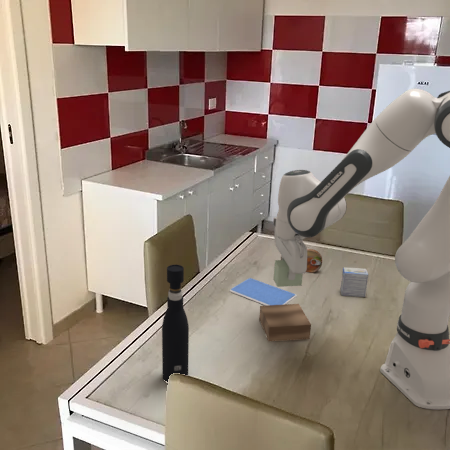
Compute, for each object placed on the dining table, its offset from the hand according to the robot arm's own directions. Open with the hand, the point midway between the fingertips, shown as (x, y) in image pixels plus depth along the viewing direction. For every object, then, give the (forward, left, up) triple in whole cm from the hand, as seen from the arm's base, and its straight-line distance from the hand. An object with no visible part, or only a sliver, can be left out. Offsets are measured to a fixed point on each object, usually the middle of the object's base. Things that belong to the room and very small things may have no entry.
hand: (288, 274), depth 145 cm
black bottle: (-19, +33, -18) cm, 42 cm away
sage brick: (0, 0, -3) cm, 3 cm away
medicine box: (+19, -29, -18) cm, 39 cm away
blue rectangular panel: (+22, +1, -19) cm, 29 cm away
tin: (+39, -17, -18) cm, 46 cm away
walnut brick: (0, 0, -18) cm, 18 cm away
